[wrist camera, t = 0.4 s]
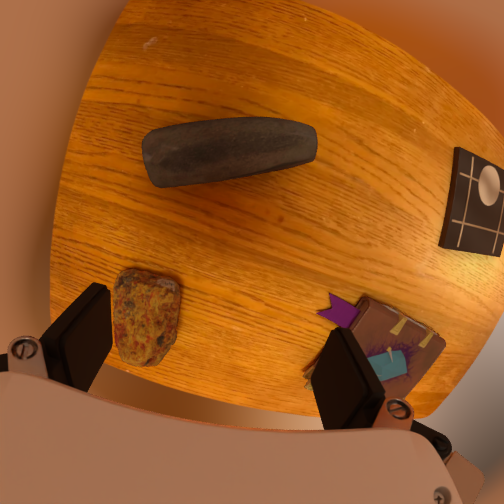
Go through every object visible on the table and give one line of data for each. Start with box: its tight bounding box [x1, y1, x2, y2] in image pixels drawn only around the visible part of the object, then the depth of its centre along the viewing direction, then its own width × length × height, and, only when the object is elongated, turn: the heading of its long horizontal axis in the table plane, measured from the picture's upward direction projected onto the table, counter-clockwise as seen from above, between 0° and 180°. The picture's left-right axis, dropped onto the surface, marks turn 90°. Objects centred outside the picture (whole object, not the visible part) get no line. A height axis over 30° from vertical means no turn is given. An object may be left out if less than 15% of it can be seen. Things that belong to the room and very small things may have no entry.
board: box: [438, 147, 504, 257], centre depth 30 cm, size 14×16×1 cm
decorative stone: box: [142, 117, 317, 188], centre depth 25 cm, size 17×6×4 cm, turn 95°
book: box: [303, 293, 446, 400], centre depth 35 cm, size 16×25×5 cm, turn 61°
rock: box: [113, 269, 181, 367], centre depth 31 cm, size 11×8×10 cm
